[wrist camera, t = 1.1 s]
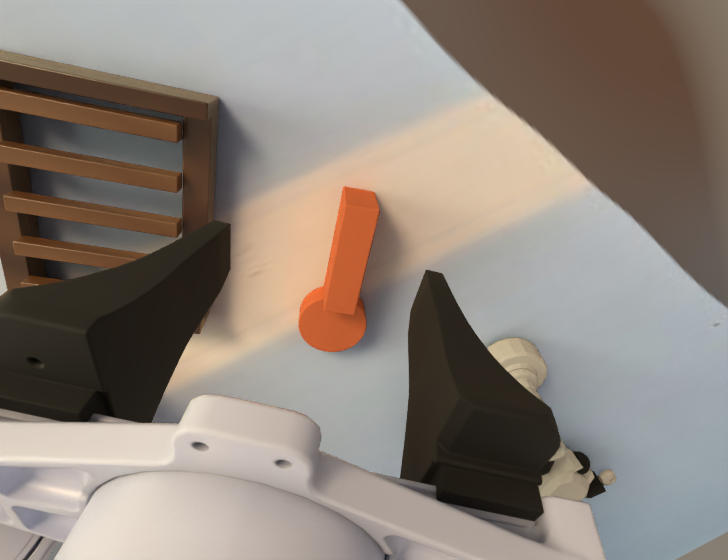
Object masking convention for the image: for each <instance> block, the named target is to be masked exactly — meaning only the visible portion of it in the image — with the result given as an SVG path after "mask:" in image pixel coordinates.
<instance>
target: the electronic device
mask: <svg viewBox="0 0 728 560" xmlns="http://www.w3.org/2000/svg"><path fill="white" fill-rule="evenodd" d="M487 349H488V351H489V352H490V353H491V354H492V355H493V356H494V358H495V359H496V360H497V361H498V362H499V363H500V364H501V365H502V366H503V367H504V368H505V369H506V370H507V371H508V372H509V373H510V374H511V375H512V376H513V377H514V378H515V379H516V380H517V381H518V382H519V383H520V384H522V385H523V386H524V387H525V388H526V389H527V390H528V391H530V392H531V393H532V394H533V395H535V396H536V397H537V398H539V399H540V400H541V401H542V399H541V397H540V395H539V394H538V393H537V389H538V388H539V387H540V386H541V385H542V383H543V382H544V380H545V378H546V376H547V365H546V363H545V361H544V360H543V358H542V356H541V355H540V353H539V352H538V350H537V348H536V347H535V345H534V344H532V343H531V342H529V341H528V340H524V339H520V338H506V339H503V340H500V341H497V342H495V343H494V344H492V345H491V346H489V347H488V348H487ZM542 402H543V401H542ZM560 439H561V438H560ZM566 452H567V450H566V447H565V445H564V443H563V441H562V440H561V443H560V448H559V449H558V451H557V452H556V454H555V455H554V456H553V457H552V458H551V459H550V460H549V461H555V460H558V459H560V458H562V457H563V456H564V455H565V454H566Z"/></svg>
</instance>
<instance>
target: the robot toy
mask: <svg viewBox="0 0 728 560" xmlns="http://www.w3.org/2000/svg"><path fill="white" fill-rule="evenodd" d="M566 450H567V452H566V454H565V455H564V456H563V457H562V458H560V459H558V460H555V461H548V462H547V463H546V464H545V465H544V466H543V467H542V469H541V470H540V471H541V476H542V480H543V481H542V484H541V485H540V486H539V491H540V496H541V498H542V497H544V496H557V497H562V498H567V499H571V500H576V501H580V500H582V499H583V498H592V497H594V496H597V495H599V494H601V493H603V492H605V491H606V490H605V488H604V486H603V485H611V484H612V483H614V482H615V481H616V476H615V474H614V472H613V471H612V470H610V469H608V470H604V471H602V472H601V473H600V474H599V475H598V477H597V475H596V474H595V473H594V471H591V469H590V461H589V459H588V457H587V456H586V455H585V454H583V453H581V452H572V451H571V449H566Z"/></svg>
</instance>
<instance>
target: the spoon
mask: <svg viewBox="0 0 728 560" xmlns="http://www.w3.org/2000/svg"><path fill="white" fill-rule="evenodd" d="M379 213H380V210H379V206H378V203H377V199H376V196H375V193H374V192H371V191H365V190H360V189H355V188H350V187H343V192H342V197H341V202H340V207H339V212H338V217H337V222H336V227H335V233H334V238H333V243H332V248H331V253H330V258H329V263H328V268H327V273H326V278H325V283H324V286H323V287H320V288H317V289H315V290H313V291H312V292H311V293H309V294H308V295H307V296H306V297H305V299H304V300H303V302H302V304H301V307H300V315H299V331H300V333H301V336H302V337H303V339H304V340H305V341H306V342H307V343H308V344H309V345H311V346H312V347H314V348H316V349H318V350H322V351H327V352H337V351H342V350H346V349H348V348H350V347H352V346H354V345H355V344H356V343H358V342H359V341H360V339H361V338H362V337H363V335H364V333H365V330H366V315H365V308H364V304H363V302H362V300H361V298H360V297H359V294H360V290H361V286H362V282H363V278H364V274H365V270H366V265H367V261H368V257H369V253H370V249H371V245H372V241H373V237H374V233H375V229H376V225H377V221H378V217H379Z"/></svg>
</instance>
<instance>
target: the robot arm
mask: <svg viewBox="0 0 728 560" xmlns="http://www.w3.org/2000/svg"><path fill="white" fill-rule="evenodd" d="M229 271H230V224H227V223H223V222H219V221H214V220H213V221H211V222H210V223H208V224H206V225H204V226H202V227H201V228H199V229H197V230H195V231H193V232H192V233H190V234H188V235H186V236H184V237H183V238H181V239H179V240H177V241H175V242H173V243H171V244H169V245H167V246H165V247H163V248H161V249H159V250H157V251H155V252H153V253H151V254H149V255H146V256H144V257H142V258H139V259H137V260H134V261H132V262H129V263H126V264H123V265H121V266H118V267H115V268H111V269H108V270H105V271H101V272H98V273H94V274H91V275H87V276H83V277H79V278H75V279H70V280H65V281H60V282H55V283H49V284H43V285H36V286H29V287H22V288H14V289H12V290H11V291H9V292H8V293H7V294H6V295H4V296H3V297H2V298H1V299H0V560H46V559H47V558H48V557H49V555H50V554H51V552H52V551H53V549H54V548H55V546H56V545H57V543H58V542H62V543H64V544H63V545H62V547H61V549H60V551H59V552H58V554H57V555H56V557H55V559H54V560H606V558H605V554H604V551H603V547H602V544H601V541H600V537H599V534H598V531H597V527H596V524H595V521H594V517H593V514H592V511H591V507H590V505H589V504H588V503H585V502H581V501H576V500H571V499H567V498H562V497H557V496H544V497H542V498H541V496H540V491H539V486H540V485H541V484H542V481H543V480H542V476H541V471H540V470H541V469H542V467H543V466H544V465H545V464H546V463H547V462H548V461H549V460H550V459H551V458H552V457H553V456H554V455H555V454H556V452H557V451H558V449H559V448H560V443H561V439H560V435H559V432H558V428H557V424H556V421H555V418H554V415H553V413H552V410H551V408H550V407H549V406H548V405H546V404H545V403H544V402H542V401H541V400H540V399H539V398H537V397H536V396H535V395H533V394H532V393H531V392H530V391H528V390H527V389H526V388H525V387H524V386H523V385H522V384H520V383H519V382H518V381H517V380H516V379H515V378H514V377H513V376H512V375H511V374H510V373H509V372H508V371H507V370H506V369H505V368H504V367H503V366H502V365H501V364H500V363H499V362H498V361H497V360H496V359H495V358H494V356H493V355H492V354H491V353H490V352H489V351H488V349H487V348H486V347H485V345H484V344H483V343H482V342H481V340H480V339H479V338H478V336H477V335H476V334H475V332H474V331H473V329H472V328H471V326H470V325H469V323H468V321H467V320H466V318H465V316H464V315H463V313H462V311H461V309H460V307H459V306H458V304H457V302H456V300H455V298H454V296H453V294H452V292H451V290H450V288H449V286H448V284H447V282H446V280H445V278H444V276H443V274H442V273H438V272H434V271H430V270H426V271H425V274H424V276H423V279H422V282H421V284H420V287H419V290H418V292H417V295H416V298H415V300H414V303H413V306H412V308H411V313H410V321H409V331H408V354H409V400H408V411H407V422H406V432H405V442H404V450H403V459H402V467H401V475H400V478H396V477H391V476H386V475H382V474H377V473H372V472H369V471H367V470H365V469H362V468H360V467H358V466H355V465H353V464H351V463H348V462H346V461H344V460H341V459H339V458H337V457H334V456H332V455H330V454H327V453H325V452H322V451H320V450H319V446H320V442H321V432H320V427H319V426H318V425H317V424H316V423H315V422H314V421H313V420H312V419H310V418H309V417H308V416H306V415H303V414H301V413H298V412H296V411H292V410H288V409H283V408H279V407H274V406H269V405H265V404H260V403H256V402H251V401H246V400H242V399H237V398H233V397H228V396H223V395H212V394H205V395H202V396H199V397H197V398H194V399H192V400H191V402H190V404H189V406H188V408H187V410H186V411H185V413H184V415H183V417H182V419H181V421H180V423H151V422H152V420H153V417H154V415H155V413H156V410H157V408H158V406H159V403H160V401H161V399H162V396H163V394H164V392H165V389H166V387H167V385H168V383H169V381H170V378H171V376H172V374H173V372H174V370H175V368H176V366H177V364H178V361H179V359H180V357H181V355H182V353H183V351H184V349H185V347H186V345H187V344H188V342H189V340H190V338H191V337H192V335H193V333H194V332H195V330H196V329H197V327H198V326H199V324H200V323H201V321H202V319H203V318H204V316H205V315H206V313H207V312H208V310H209V309H210V307H211V305H212V304H213V302H214V301H215V299H216V297H217V296H218V294H219V293H220V291H221V289H222V287H223V285H224V282H225V280H226V278H227V276H228V273H229Z"/></svg>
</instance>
